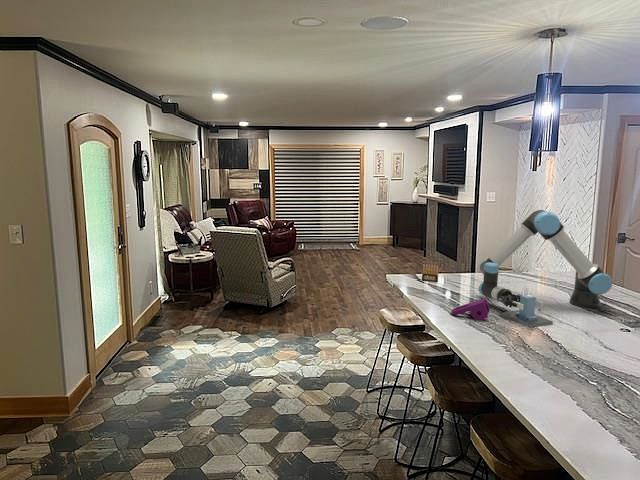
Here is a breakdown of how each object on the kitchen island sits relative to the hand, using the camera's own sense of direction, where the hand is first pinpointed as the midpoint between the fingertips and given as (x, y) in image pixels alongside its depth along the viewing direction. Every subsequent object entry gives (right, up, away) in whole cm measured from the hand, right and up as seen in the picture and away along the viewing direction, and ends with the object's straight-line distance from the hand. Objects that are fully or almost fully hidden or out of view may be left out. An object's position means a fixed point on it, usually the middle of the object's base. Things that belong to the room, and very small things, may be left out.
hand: (532, 306), depth 236 cm
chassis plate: (-1, -8, +5) cm, 9 cm away
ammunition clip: (-32, +5, +85) cm, 91 cm away
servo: (-1, -7, +5) cm, 9 cm away
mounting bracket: (-29, -7, +10) cm, 31 cm away
